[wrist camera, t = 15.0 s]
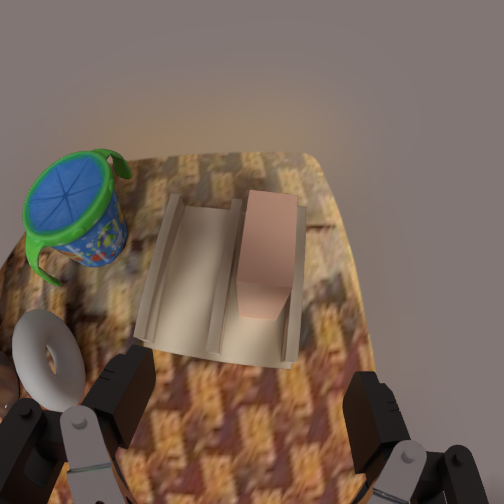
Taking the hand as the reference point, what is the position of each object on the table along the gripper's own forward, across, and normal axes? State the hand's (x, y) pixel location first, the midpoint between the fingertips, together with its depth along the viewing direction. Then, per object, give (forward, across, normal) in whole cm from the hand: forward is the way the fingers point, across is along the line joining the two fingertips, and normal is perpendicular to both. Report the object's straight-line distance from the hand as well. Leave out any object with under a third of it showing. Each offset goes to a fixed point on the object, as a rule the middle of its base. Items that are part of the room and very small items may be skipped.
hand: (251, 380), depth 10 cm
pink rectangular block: (+17, 0, +4) cm, 18 cm away
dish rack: (+18, +3, +5) cm, 19 cm away
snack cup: (+21, +19, +3) cm, 28 cm away
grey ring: (+10, +18, +14) cm, 25 cm away
